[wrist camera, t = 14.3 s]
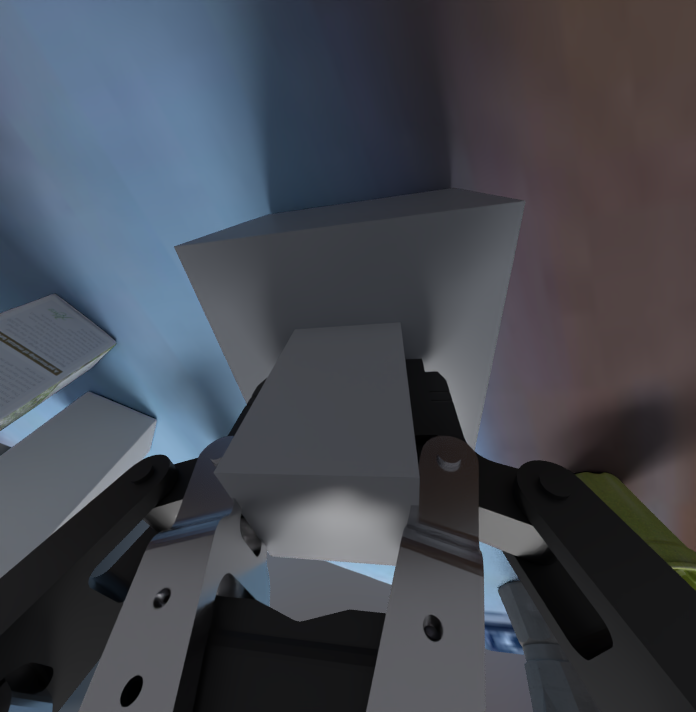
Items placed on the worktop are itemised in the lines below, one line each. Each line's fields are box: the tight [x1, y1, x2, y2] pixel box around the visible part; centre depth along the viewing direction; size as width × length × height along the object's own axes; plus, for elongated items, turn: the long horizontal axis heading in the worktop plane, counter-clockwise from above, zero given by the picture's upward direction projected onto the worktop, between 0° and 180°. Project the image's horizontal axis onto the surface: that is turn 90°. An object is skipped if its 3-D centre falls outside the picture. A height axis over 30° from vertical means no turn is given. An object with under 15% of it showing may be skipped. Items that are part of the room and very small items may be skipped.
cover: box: [174, 188, 525, 566], centre depth 12 cm, size 11×11×15 cm
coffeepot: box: [498, 581, 600, 712], centre depth 38 cm, size 15×9×18 cm, turn 57°
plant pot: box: [575, 472, 696, 591], centre depth 25 cm, size 9×9×9 cm
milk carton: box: [0, 392, 157, 578], centre depth 23 cm, size 7×7×19 cm
